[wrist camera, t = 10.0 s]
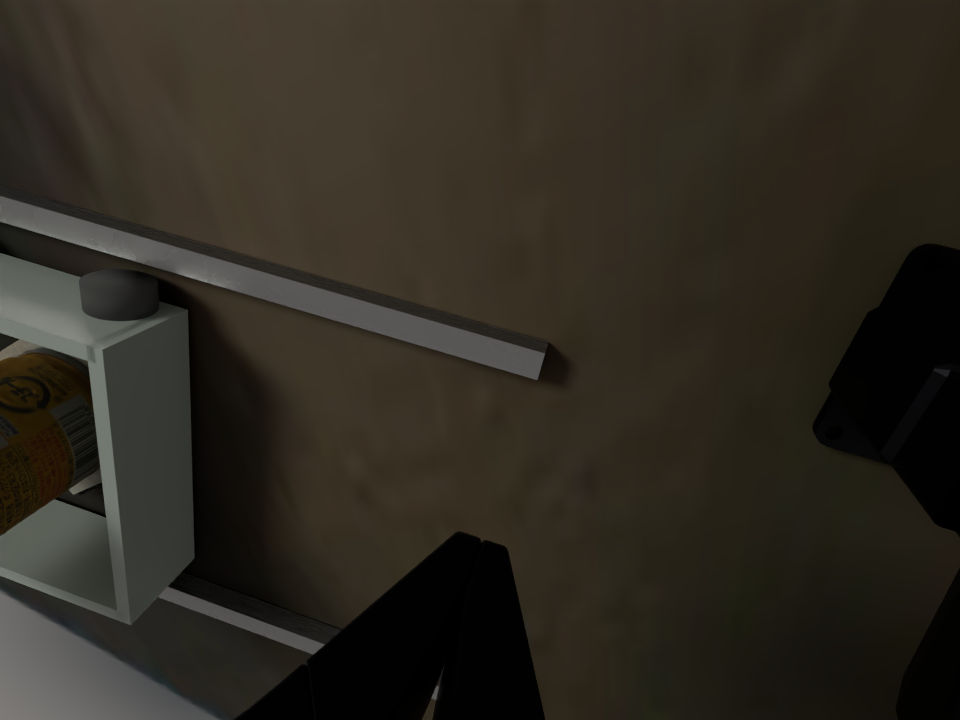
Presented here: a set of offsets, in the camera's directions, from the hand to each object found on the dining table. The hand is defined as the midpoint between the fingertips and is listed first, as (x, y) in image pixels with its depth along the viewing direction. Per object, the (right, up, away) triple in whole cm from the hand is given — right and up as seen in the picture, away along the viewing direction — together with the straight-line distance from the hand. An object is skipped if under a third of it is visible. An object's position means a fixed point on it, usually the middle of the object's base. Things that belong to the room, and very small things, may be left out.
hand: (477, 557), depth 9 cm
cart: (-18, +1, +17) cm, 25 cm away
